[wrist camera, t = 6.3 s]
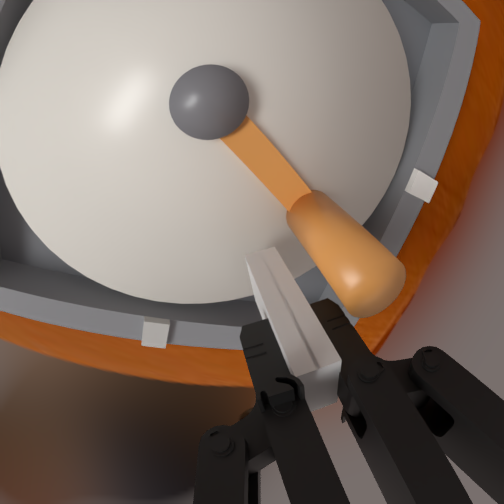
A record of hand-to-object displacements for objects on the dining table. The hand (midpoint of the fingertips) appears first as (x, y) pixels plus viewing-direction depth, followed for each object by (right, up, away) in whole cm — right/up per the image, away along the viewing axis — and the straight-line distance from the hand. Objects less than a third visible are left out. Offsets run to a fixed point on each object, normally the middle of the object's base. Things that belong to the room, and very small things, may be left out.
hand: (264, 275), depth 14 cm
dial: (-3, +8, -2) cm, 9 cm away
